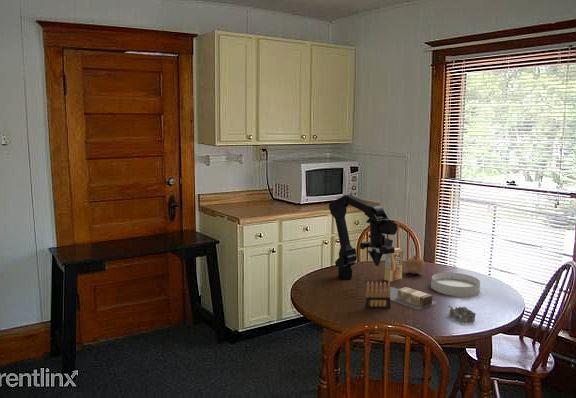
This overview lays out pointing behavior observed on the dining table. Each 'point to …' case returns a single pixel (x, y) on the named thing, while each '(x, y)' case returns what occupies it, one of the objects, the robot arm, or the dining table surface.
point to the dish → (456, 284)
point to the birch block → (414, 296)
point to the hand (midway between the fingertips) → (377, 265)
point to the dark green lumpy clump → (466, 314)
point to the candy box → (393, 265)
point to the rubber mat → (394, 298)
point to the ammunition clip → (377, 296)
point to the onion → (415, 264)
